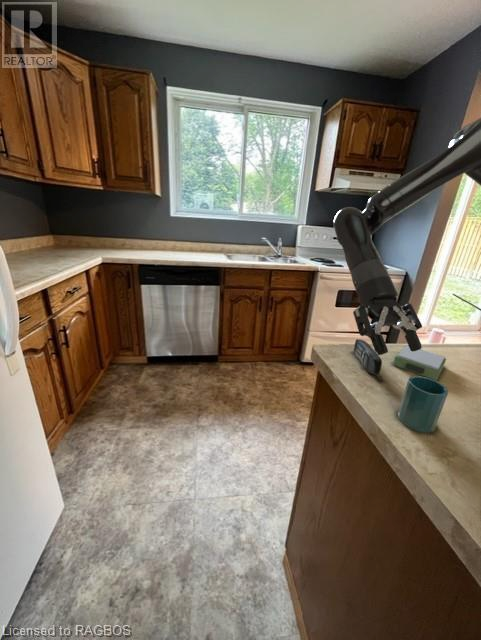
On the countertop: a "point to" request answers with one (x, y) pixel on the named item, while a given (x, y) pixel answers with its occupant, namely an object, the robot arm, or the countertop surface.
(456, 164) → the robot arm
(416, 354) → the kitchen scale
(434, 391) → the teal cup
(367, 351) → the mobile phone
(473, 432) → the countertop surface
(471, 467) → the countertop surface
